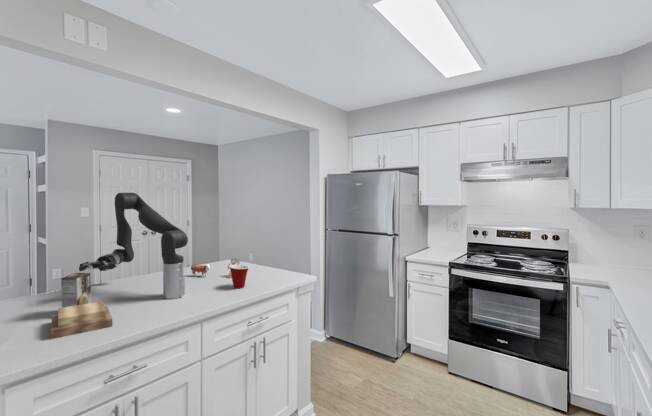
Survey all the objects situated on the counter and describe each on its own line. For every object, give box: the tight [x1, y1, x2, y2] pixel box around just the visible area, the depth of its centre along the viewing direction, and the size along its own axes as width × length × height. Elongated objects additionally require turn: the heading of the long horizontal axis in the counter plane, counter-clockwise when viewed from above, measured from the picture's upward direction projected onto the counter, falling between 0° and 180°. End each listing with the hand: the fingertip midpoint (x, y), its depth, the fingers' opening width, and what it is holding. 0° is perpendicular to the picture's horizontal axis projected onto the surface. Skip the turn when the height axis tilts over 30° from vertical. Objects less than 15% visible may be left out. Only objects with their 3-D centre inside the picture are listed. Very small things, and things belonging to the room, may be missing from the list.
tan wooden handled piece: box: [225, 257, 240, 279], centre depth 202 cm, size 9×4×12 cm, turn 136°
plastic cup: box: [229, 264, 250, 289], centre depth 178 cm, size 11×11×12 cm
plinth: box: [50, 301, 113, 340], centre depth 124 cm, size 18×18×6 cm
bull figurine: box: [190, 263, 211, 278], centre depth 201 cm, size 4×13×8 cm, turn 79°
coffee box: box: [60, 272, 92, 308], centre depth 137 cm, size 9×6×16 cm
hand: (90, 269), depth 147 cm, fingers open, 8 cm apart
